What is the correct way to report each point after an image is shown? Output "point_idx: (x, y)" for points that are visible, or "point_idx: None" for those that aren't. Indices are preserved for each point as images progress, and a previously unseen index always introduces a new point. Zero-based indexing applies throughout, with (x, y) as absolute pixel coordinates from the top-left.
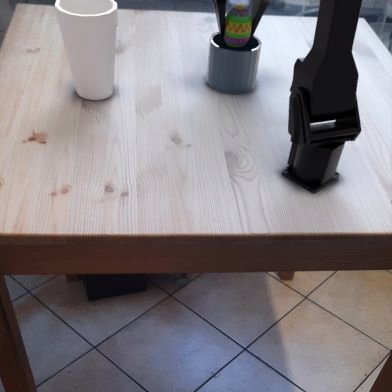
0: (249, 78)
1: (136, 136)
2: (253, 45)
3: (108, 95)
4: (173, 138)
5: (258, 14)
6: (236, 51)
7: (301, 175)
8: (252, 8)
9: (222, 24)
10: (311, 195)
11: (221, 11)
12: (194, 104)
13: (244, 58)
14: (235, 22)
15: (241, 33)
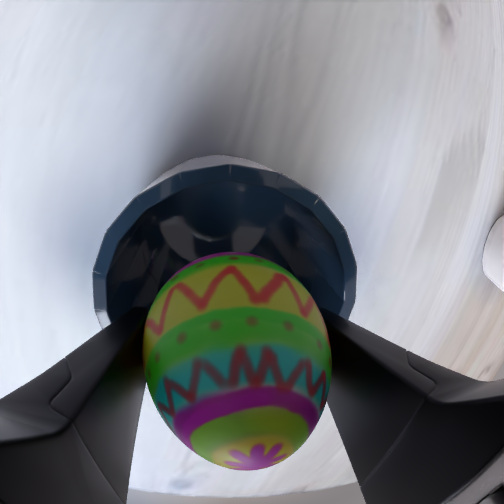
0: (180, 165)
1: (493, 68)
2: (123, 312)
3: (499, 220)
4: (448, 24)
5: (91, 368)
6: (278, 180)
7: None
8: (128, 443)
9: (358, 334)
10: None
11: (423, 367)
12: (379, 130)
13: (224, 161)
14: (300, 321)
15: (242, 265)
